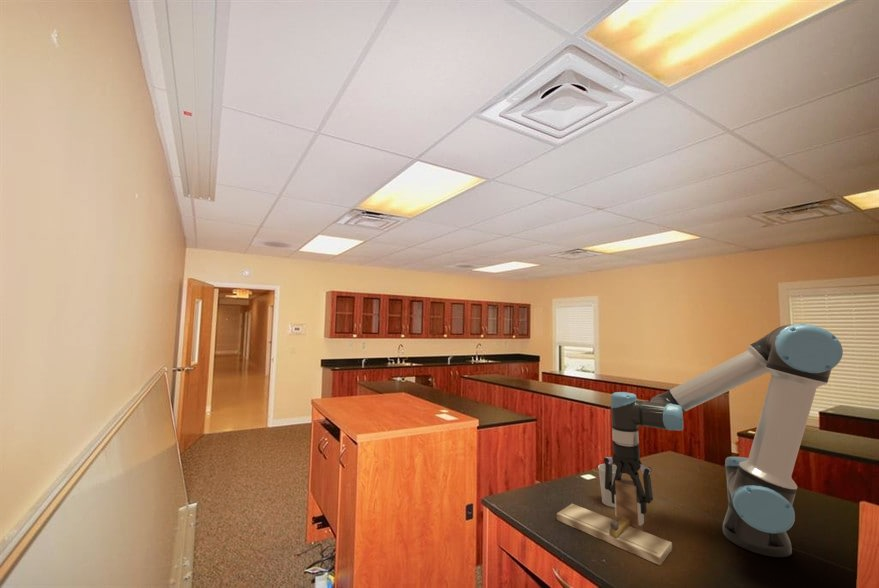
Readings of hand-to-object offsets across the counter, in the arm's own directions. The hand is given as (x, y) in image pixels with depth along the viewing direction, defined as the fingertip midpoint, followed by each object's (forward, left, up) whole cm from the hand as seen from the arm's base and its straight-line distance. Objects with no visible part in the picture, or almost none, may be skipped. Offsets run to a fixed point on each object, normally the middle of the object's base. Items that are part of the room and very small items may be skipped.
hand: (629, 519), depth 112 cm
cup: (+11, -13, -3) cm, 17 cm away
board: (+3, +7, -3) cm, 8 cm away
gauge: (0, +5, -3) cm, 6 cm away
